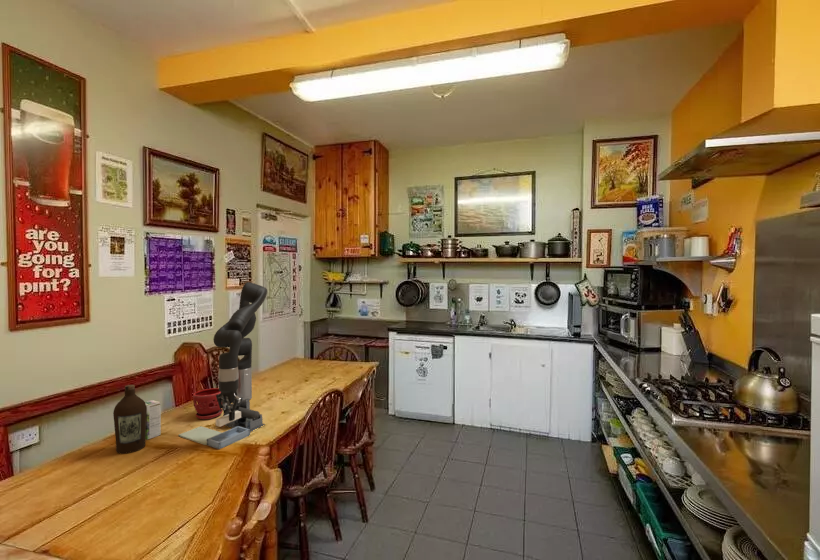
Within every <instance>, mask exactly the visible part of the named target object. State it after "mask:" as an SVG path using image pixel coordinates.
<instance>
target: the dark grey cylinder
mask: <svg viewBox="0 0 820 560" xmlns="http://www.w3.org/2000/svg"><path fill="white" fill-rule="evenodd" d="M238 411H241V416H242V417H246V418H252V419H254V420H257V419H258V418H259V416H260V414H261V413H260V412H259V411H258V410H253V409H246V408H242V407H239V410H238Z"/></svg>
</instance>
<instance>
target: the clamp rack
mask: <svg viewBox="0 0 820 560" xmlns="http://www.w3.org/2000/svg"><path fill="white" fill-rule="evenodd" d="M241 398H242V401H241V404H240V407H242V408H246V409H250V408H251V407H250V406H251V403H250V400H249V399H245V400H243V397H241ZM230 404H232V403H230ZM232 408H233V406H232ZM250 410H251V409H250ZM236 411H238V410H236ZM222 416H224V411H223V412H222ZM263 425H265V426H266V424H265V423H264V422H263V414H261V413H260V416H259V418H258V419H257V420H254V419H252V418H246V417H242V416H241V418H239V419H237V420H234V421H232V422H230V423H227V424H225V427H227V426H228V427H227V428H231V427H232V428H235V427H237V426H240V427H243V428H247V429H250V433H252V432H254V431H253V430H255V429H257V428H259V427H261V426H263ZM263 427H264V426H263ZM232 428H231V429H232ZM261 428H262V427H261ZM259 429H260V428H259ZM257 430H258V429H257ZM251 431H252V432H251ZM255 431H256V430H255Z"/></svg>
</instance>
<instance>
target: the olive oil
mask: <svg viewBox="0 0 820 560" xmlns="http://www.w3.org/2000/svg"><path fill="white" fill-rule="evenodd" d="M135 387H136V386H135V384H126V385H124V396H123V397H122V398H121V399H120V400H119V402H117V404H116V405H115V406H114V409H113V412H112V413H113V415H112V416H113V423H114V424H113V425H114V436H115V439H114V440H115V451H116V453H117V454H120V453H121V454H131V453H135V452H138V451H140V450H142V449H144V448H145V446H146V411H147V407H146V404H145V402H146V401H144V399H143V398H141V397H140V396H138V395H136V388H135Z"/></svg>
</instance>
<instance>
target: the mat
mask: <svg viewBox="0 0 820 560" xmlns="http://www.w3.org/2000/svg"><path fill="white" fill-rule="evenodd" d="M220 433H223V432H221V431H219V430H215V429H211V428H208V427H205V426H202V425H201V426H197V427H195V428H193V429H190V430H187V431H184V432H182V433H180V434H178V435H177V436H178V437H180V438H183V439H186V440H189V441H192V442H194V443H198V444H201V445H203V446H207V439H208V438H211V437H213V436H216V435H218V434H220Z"/></svg>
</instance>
